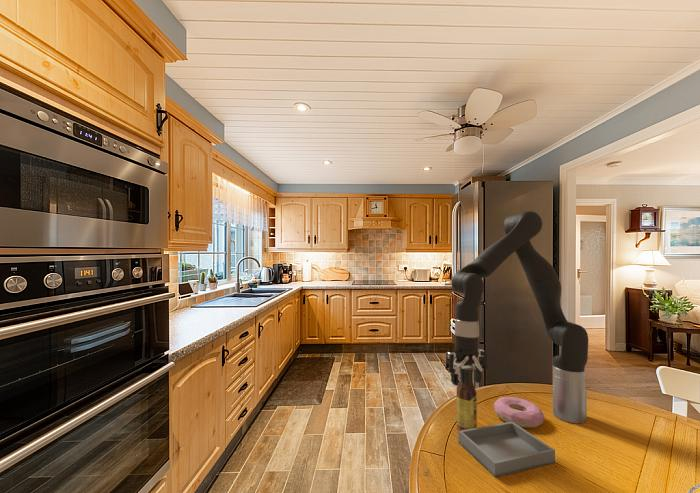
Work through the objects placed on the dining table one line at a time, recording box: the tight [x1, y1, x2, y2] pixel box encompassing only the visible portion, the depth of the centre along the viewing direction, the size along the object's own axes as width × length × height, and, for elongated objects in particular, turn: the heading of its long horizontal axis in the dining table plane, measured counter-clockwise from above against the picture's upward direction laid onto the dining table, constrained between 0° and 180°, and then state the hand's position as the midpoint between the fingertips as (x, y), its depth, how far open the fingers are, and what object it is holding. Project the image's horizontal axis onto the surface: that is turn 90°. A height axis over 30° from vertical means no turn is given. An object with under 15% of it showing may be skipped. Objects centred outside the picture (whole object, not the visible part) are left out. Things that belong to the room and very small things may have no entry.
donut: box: [493, 396, 545, 429], centre depth 108 cm, size 16×15×5 cm
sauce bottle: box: [455, 365, 478, 431], centre depth 101 cm, size 6×6×20 cm
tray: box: [458, 422, 556, 478], centre depth 89 cm, size 20×15×4 cm
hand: (466, 383), depth 101 cm, fingers open, 8 cm apart
